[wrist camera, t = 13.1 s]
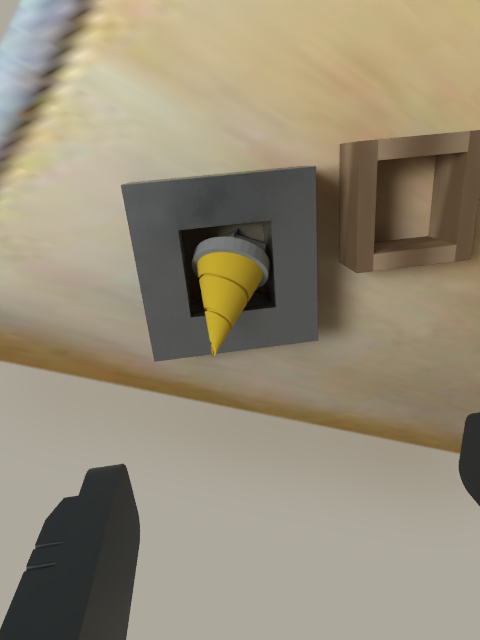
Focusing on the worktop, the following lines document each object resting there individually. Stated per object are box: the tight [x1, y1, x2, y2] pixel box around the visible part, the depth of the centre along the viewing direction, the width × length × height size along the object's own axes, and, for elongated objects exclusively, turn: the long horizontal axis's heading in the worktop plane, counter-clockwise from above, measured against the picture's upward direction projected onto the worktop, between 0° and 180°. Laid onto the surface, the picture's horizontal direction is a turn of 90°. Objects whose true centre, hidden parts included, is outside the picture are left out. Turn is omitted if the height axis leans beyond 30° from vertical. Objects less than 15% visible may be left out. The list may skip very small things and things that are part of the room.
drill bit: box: [192, 229, 270, 356], centre depth 27 cm, size 5×5×10 cm
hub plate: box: [121, 166, 318, 361], centre depth 28 cm, size 12×12×4 cm
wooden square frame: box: [339, 130, 480, 273], centre depth 28 cm, size 8×8×4 cm
